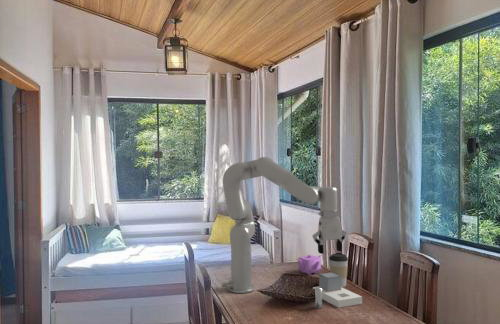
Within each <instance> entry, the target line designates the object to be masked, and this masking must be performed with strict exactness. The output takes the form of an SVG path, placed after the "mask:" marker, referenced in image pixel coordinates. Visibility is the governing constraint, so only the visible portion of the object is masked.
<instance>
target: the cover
mask: <svg viewBox="0 0 500 324" xmlns="http://www.w3.org/2000/svg"><path fill="white" fill-rule="evenodd" d="M318 276H319V277H318V279H319V280H318V283H319V285H318V287H321V288H322V289H324V290H326V291H335V290H341V276H340V275H337V274H335V273H330V272H327V273H326V272H325V273H318Z"/></svg>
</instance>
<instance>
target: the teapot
mask: <svg viewBox="0 0 500 324" xmlns="http://www.w3.org/2000/svg"><path fill="white" fill-rule="evenodd" d="M322 256H323V254H320V255H318V256H315V255H312V254H307V255H304V256H299V257H298V258H297V259H296V260H297V265H298V267H297V268H298V269H297V270H298V271H299V272H301V274H307V276H311V275H312V274H314V275H319V273H318V272H322Z"/></svg>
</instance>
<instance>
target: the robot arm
mask: <svg viewBox="0 0 500 324" xmlns="http://www.w3.org/2000/svg"><path fill="white" fill-rule="evenodd" d="M258 177H262V178H265V179H266V180H268V181H269V182H272V183H273V184H275V185H277V186H278V187H279V188H281V189H282V190H283V191H284V192H287V193H288V194H290V195H291V196H293V197H294V198H296V199H297V200H300V201H301V202H303V203H304V204H306V205H314V204H315V203H319V202H320V203H319V204H320V212H318V216H320V217H319V221H318V227H317V231H316V232H315V233H314V234H312V238H313V240H314V242H315V243H316V245H317V252H318V254H320V255H323V254H324V244H323V243H324V242H325V241H326V242H327V241H334V240H335V241H336V243H335V244H336V246H335V247H336V252H337V251H338V252H343V251H342V250H343V242H344V240H345V238H346V235H347V231H345V230H343V229H342V223H341V219H340V216H338V189H337V187H335V186H315V185H313V186H311V185H308V184H306V183H305V182H303V181H302V180H300V179H298V178H297V176H295V175H294V174H293V172H292V171H290V170H288V169H287V168H285V167H283V166H281V165H280V164H277V163H276V162H275V161H274V160H273V159H272V158H271V157H268V156H262V157H261V156H260V157H259V158H257V159H254V160H249V161H244V162H243V161H242V162H235V163H233V164H231V165H230V166H229V167H228V168H227V169H226V170H225V171H224V173H223V175H222V188H223V193H224V199H225V204H226V209H227V211H226V212H227V214H228V217H229V218H230V219H231V220H233V221H234V222H235V223H234V225H233V226H232V228H231V229H230V232H229V241H230V257H231V258H230V262H231V263H230V266H231V267H230V268H231V271H230V273H231V279H229V280H228V281H227V282H222V283H221V287H222V288H225V287H226V288H228V289H227V290H228V291H229V292H231V293H235V294H247V293H251V292H253V291H256V290H255V289H256V287H255V285H253V284H252V246H251V239H252V237H254V235H255V233H256V225H255V220H254V216H253V215H254V214H253V209H252V205H251V204H250V202H249V201H248V200H247V199H245V198H244V195H243V189H242V186H241V182H242V181H245V180H249V179H255V178H258Z"/></svg>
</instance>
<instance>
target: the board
mask: <svg viewBox="0 0 500 324" xmlns="http://www.w3.org/2000/svg"><path fill="white" fill-rule="evenodd" d="M316 287H317V286H315V287H314V286H313V287H312V290H313V289H315V288H316ZM323 300H324V301H325V302H327V303H328V304H331V305H333V306H334V307H336V308H338V309H340V308H345V307H350V306H356V305H362V304H363V296H361V295H359V294H357V293H355V292H353V291H350V290H348V289H346V288H344V287H341V290H335V291H326V290H324V289H322V301H323Z"/></svg>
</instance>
